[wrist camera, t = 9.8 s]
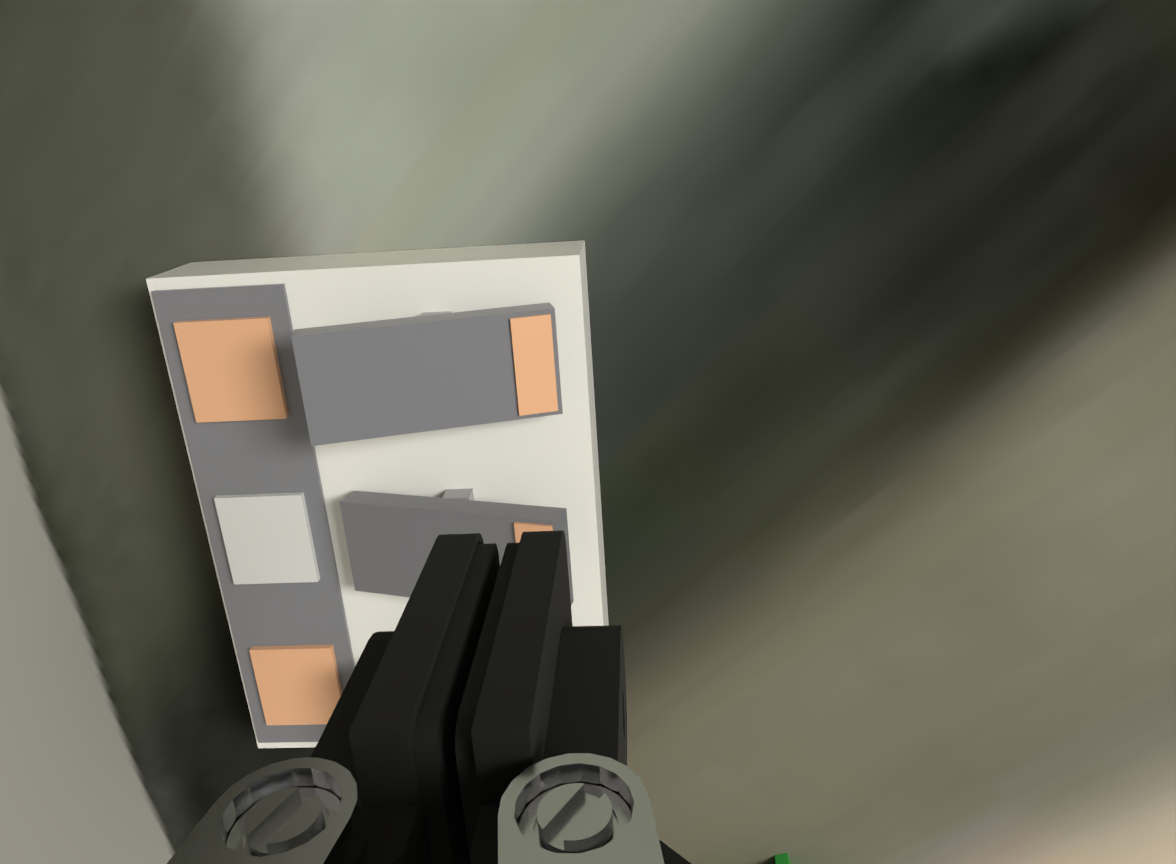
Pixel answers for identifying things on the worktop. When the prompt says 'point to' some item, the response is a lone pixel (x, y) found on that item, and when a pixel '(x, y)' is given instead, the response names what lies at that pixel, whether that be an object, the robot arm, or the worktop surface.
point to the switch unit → (355, 449)
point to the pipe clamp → (782, 859)
